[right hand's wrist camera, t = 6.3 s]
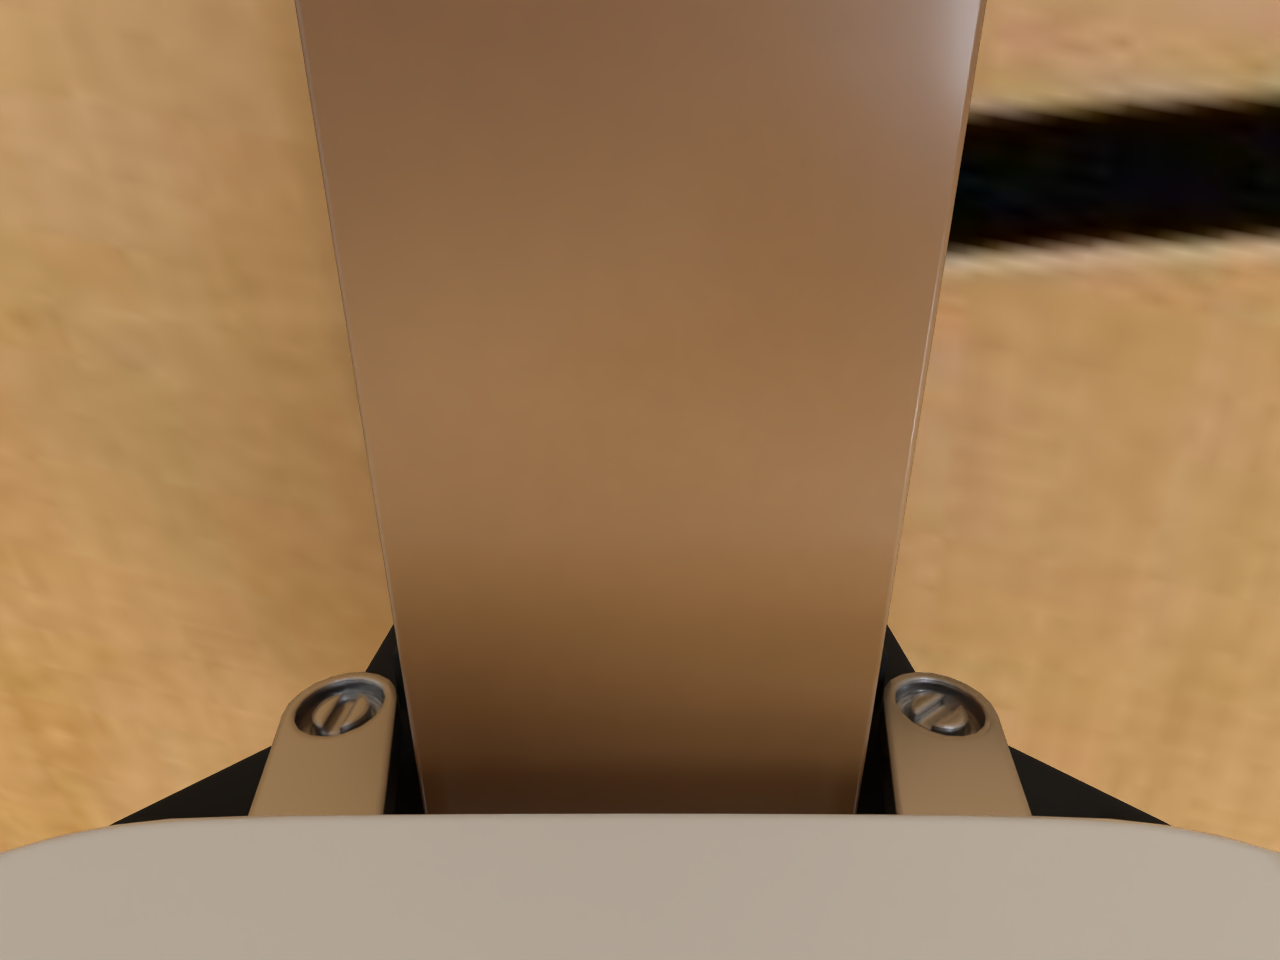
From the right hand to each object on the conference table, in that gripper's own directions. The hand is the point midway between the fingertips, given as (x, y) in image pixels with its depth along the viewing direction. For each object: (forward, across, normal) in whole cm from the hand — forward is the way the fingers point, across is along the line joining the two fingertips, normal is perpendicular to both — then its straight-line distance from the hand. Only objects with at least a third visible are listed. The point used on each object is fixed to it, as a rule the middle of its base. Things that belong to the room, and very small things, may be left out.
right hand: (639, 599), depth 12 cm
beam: (+3, 0, -23) cm, 23 cm away
